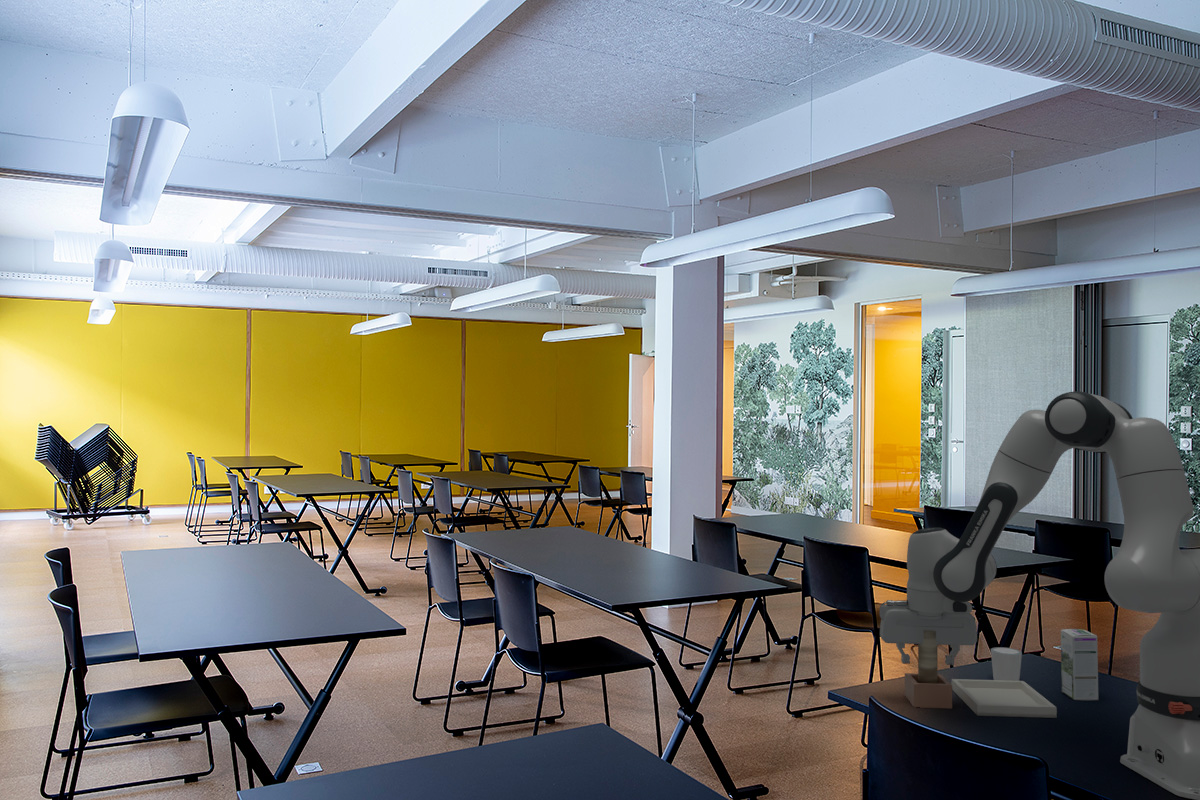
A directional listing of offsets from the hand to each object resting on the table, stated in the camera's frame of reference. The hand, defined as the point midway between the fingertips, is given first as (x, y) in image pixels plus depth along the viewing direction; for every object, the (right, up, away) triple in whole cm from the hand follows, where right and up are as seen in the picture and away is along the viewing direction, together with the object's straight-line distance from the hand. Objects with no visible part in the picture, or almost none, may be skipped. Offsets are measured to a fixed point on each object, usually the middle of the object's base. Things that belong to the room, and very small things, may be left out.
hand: (927, 663), depth 197 cm
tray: (+16, -8, -1) cm, 18 cm away
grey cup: (+24, -9, +15) cm, 30 cm away
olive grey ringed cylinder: (0, -8, 0) cm, 8 cm away
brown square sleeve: (0, -8, 0) cm, 8 cm away
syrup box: (+35, -9, +3) cm, 37 cm away
